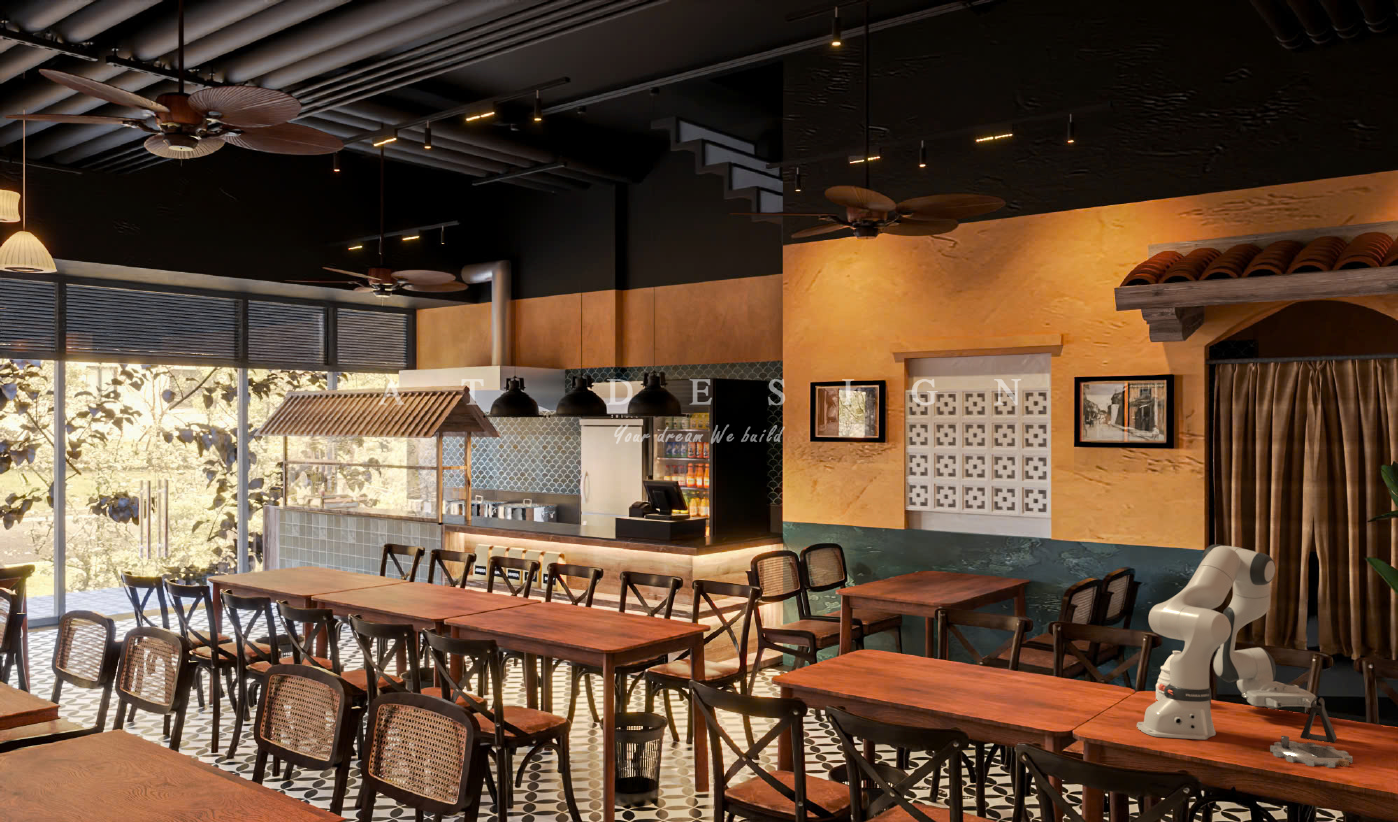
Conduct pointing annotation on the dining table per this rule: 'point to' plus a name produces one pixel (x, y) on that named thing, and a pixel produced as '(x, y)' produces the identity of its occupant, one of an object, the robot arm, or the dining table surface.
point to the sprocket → (1310, 753)
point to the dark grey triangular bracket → (1325, 721)
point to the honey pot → (1164, 676)
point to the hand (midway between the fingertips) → (1293, 704)
